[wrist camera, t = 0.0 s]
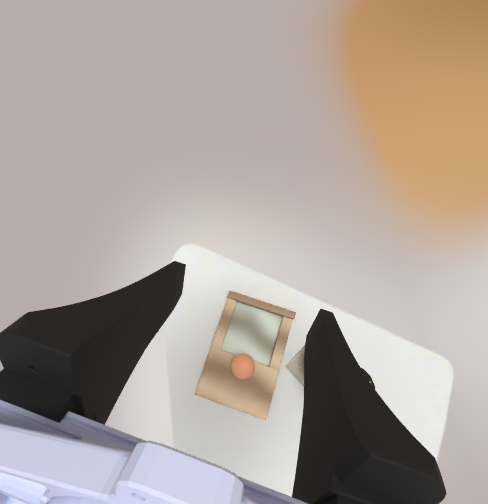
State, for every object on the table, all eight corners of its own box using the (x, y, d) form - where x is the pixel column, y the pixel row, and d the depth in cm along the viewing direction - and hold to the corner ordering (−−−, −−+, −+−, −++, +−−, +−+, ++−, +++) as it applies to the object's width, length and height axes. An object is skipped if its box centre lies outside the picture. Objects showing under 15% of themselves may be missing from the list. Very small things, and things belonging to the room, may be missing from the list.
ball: (250, 380, 41) (251, 385, 37) (228, 373, 41) (227, 376, 38) (257, 357, 42) (258, 359, 38) (235, 349, 42) (235, 351, 39)
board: (264, 417, 41) (266, 423, 38) (196, 392, 42) (193, 396, 39) (292, 314, 45) (295, 312, 43) (230, 293, 46) (229, 290, 43)
